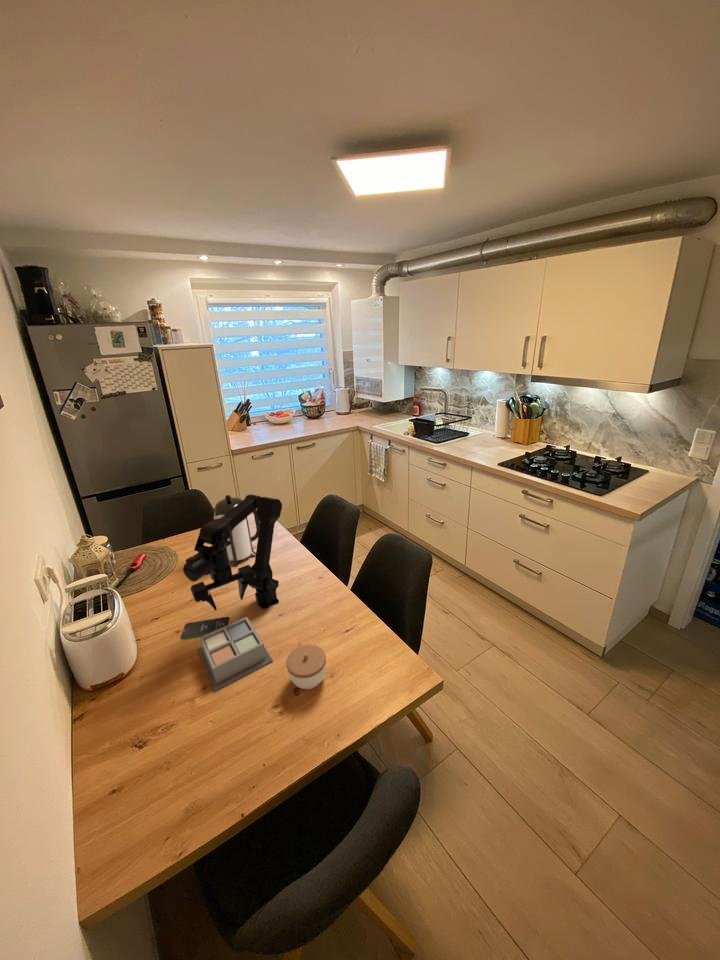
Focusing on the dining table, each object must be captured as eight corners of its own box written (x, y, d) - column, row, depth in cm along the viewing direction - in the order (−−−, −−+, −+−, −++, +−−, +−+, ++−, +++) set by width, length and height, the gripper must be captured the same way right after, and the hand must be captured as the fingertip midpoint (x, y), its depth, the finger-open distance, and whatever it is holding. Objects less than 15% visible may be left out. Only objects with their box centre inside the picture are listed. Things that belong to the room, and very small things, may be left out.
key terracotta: (231, 653, 115) (229, 645, 114) (237, 665, 111) (235, 656, 109) (212, 662, 112) (210, 654, 111) (218, 675, 108) (216, 666, 106)
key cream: (225, 640, 120) (223, 631, 119) (230, 650, 116) (228, 642, 115) (206, 648, 117) (204, 640, 116) (211, 659, 113) (209, 651, 112)
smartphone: (185, 622, 131) (230, 615, 133) (185, 625, 131) (231, 617, 133) (179, 638, 124) (227, 630, 126) (180, 641, 124) (228, 633, 126)
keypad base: (250, 625, 128) (247, 611, 126) (272, 661, 113) (270, 646, 111) (197, 649, 119) (194, 635, 117) (214, 691, 105) (210, 676, 103)
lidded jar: (296, 703, 100) (292, 676, 97) (284, 674, 109) (280, 648, 106) (334, 686, 104) (331, 659, 101) (319, 659, 113) (316, 634, 110)
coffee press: (253, 566, 163) (242, 501, 152) (216, 567, 163) (202, 503, 153) (264, 545, 179) (254, 485, 168) (230, 546, 179) (218, 487, 169)
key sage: (254, 643, 119) (252, 634, 117) (261, 654, 114) (259, 645, 113) (236, 651, 116) (234, 643, 114) (242, 663, 111) (240, 654, 110)
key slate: (246, 630, 124) (245, 622, 123) (252, 640, 120) (251, 631, 118) (229, 638, 121) (227, 629, 120) (235, 648, 117) (233, 640, 116)
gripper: (241, 542, 128) (248, 581, 133) (181, 562, 118) (192, 603, 124) (252, 556, 119) (260, 597, 125) (189, 579, 110) (200, 622, 115)
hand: (228, 604), depth 122 cm, fingers open, 8 cm apart
